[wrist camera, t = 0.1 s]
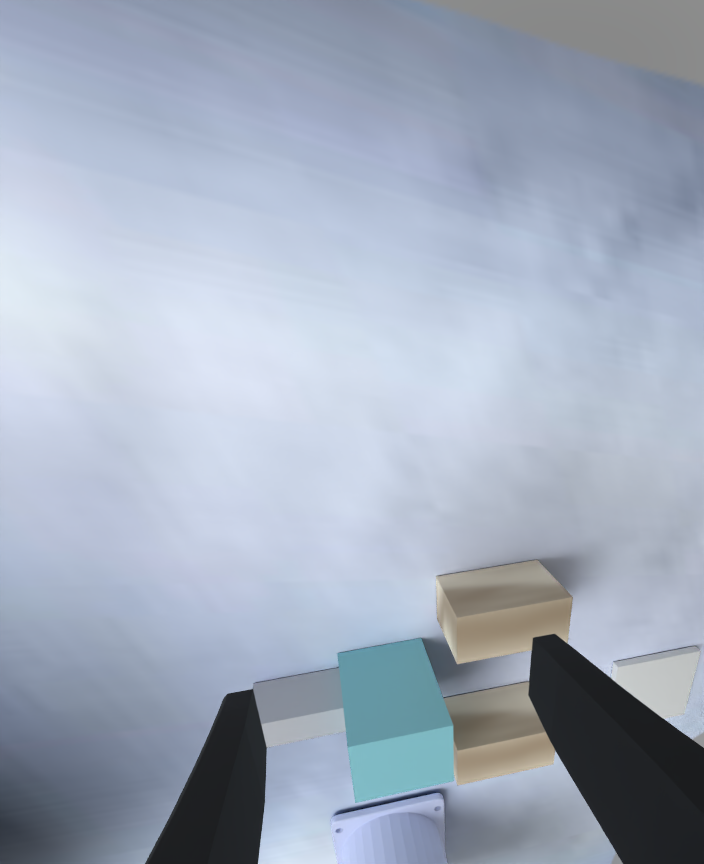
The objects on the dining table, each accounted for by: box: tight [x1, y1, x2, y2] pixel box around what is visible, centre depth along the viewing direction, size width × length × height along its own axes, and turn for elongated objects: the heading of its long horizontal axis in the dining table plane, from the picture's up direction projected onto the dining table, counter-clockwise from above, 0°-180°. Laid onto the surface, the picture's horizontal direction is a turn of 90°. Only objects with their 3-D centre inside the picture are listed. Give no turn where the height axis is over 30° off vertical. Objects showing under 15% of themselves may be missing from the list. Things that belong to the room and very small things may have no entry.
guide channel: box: [436, 560, 573, 785], centre depth 22 cm, size 12×6×3 cm, turn 5°
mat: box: [611, 646, 701, 719], centre depth 26 cm, size 6×6×1 cm
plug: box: [253, 638, 454, 803], centre depth 20 cm, size 4×10×5 cm, turn 95°
